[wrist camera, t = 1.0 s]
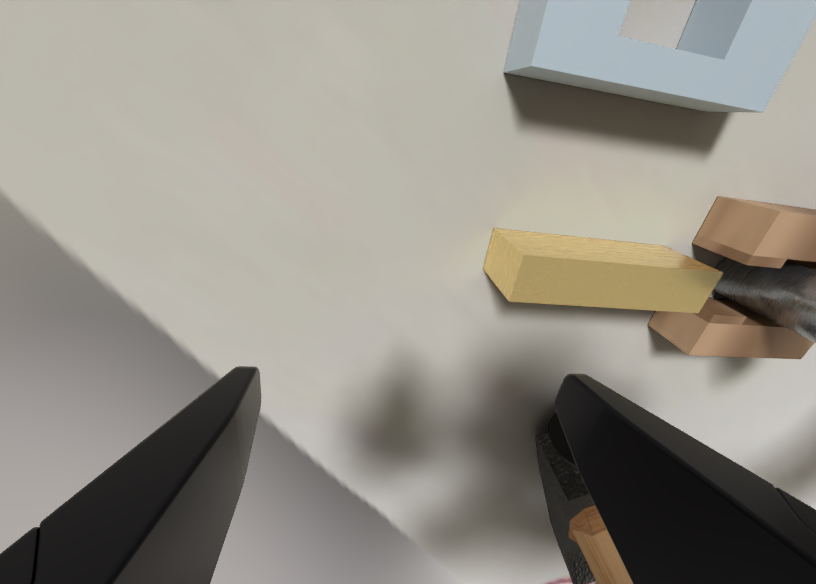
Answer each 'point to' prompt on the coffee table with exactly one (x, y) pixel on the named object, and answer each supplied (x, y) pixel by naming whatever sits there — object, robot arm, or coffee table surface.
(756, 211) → the socket block
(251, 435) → the robot arm
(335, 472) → the coffee table surface
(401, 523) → the coffee table surface
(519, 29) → the light blue rectangular frame
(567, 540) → the hammer
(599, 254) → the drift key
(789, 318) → the peg
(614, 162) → the coffee table surface
